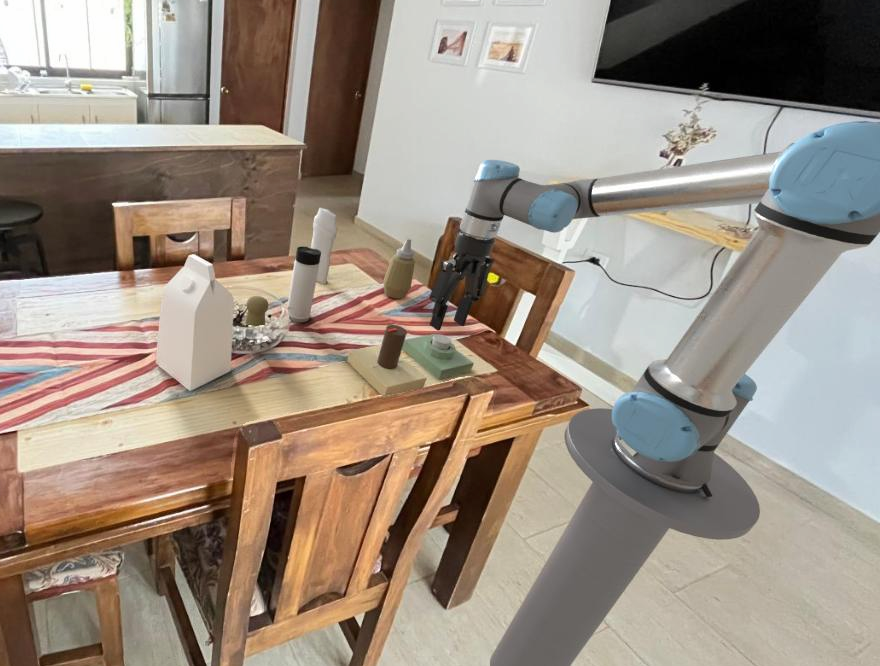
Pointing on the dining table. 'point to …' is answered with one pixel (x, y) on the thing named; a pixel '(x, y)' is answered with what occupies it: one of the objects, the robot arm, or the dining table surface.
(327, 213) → the white rounded cylinder
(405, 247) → the squeeze bottle
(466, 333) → the dining table surface
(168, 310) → the milk
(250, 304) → the cork
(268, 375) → the dining table surface
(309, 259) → the travel mug
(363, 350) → the beige slab
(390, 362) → the brown upright cylinder
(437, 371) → the green slab
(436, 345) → the grey rounded lump
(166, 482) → the dining table surface
